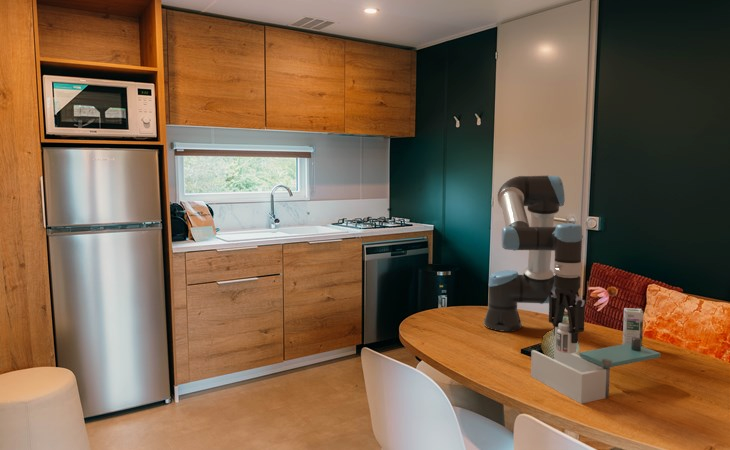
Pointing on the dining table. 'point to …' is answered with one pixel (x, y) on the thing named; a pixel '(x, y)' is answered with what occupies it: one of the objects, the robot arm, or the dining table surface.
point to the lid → (620, 354)
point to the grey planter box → (571, 375)
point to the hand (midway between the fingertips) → (565, 349)
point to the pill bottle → (562, 337)
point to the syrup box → (632, 325)
